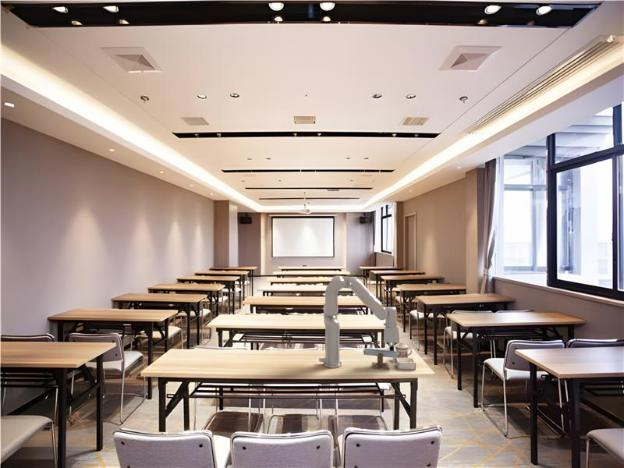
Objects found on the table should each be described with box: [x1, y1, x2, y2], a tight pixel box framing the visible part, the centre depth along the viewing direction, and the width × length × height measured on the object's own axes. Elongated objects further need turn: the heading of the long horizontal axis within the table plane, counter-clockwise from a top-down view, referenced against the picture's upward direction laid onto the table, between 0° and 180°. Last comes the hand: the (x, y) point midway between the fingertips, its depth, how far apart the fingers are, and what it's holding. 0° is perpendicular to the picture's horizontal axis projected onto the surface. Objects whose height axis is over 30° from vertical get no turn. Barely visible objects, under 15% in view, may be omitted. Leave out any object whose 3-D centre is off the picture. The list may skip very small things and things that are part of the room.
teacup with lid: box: [394, 341, 413, 358], centre depth 258 cm, size 12×9×12 cm
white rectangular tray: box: [395, 357, 417, 371], centre depth 242 cm, size 11×9×4 cm
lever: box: [362, 347, 397, 359], centre depth 247 cm, size 22×13×3 cm, turn 84°
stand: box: [371, 354, 390, 370], centre depth 244 cm, size 10×11×10 cm
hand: (391, 351), depth 249 cm, fingers closed
